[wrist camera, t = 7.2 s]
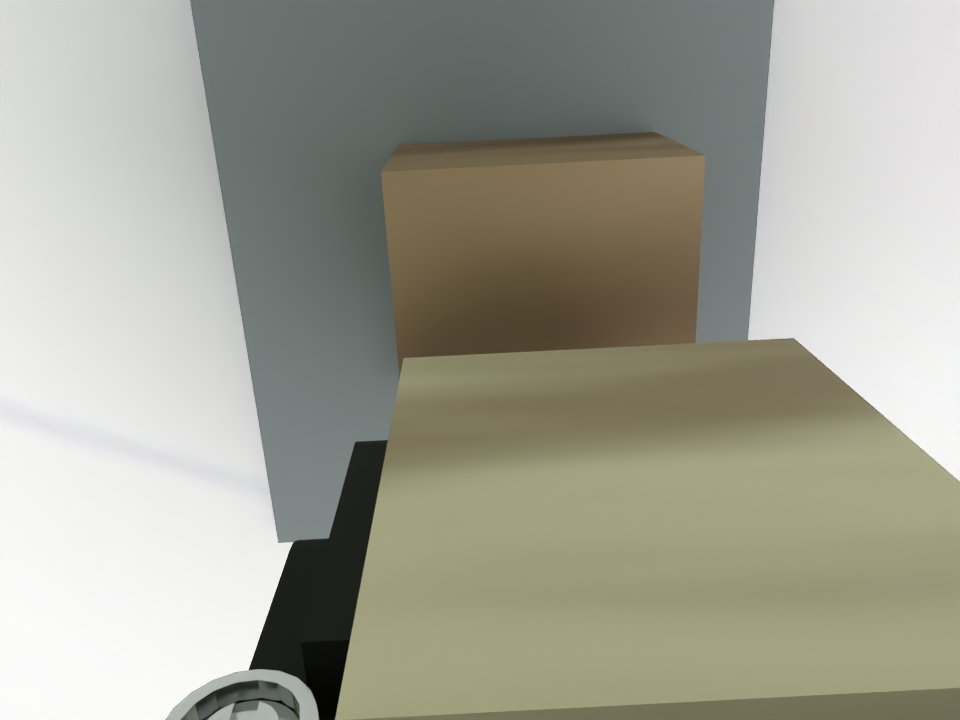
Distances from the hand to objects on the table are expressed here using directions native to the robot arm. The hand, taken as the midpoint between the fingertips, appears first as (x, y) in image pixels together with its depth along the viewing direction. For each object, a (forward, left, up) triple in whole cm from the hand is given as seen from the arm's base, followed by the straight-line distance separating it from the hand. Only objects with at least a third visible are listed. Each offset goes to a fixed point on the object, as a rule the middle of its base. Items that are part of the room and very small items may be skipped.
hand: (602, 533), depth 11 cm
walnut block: (0, 0, -14) cm, 14 cm away
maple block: (0, 0, 0) cm, 0 cm away
